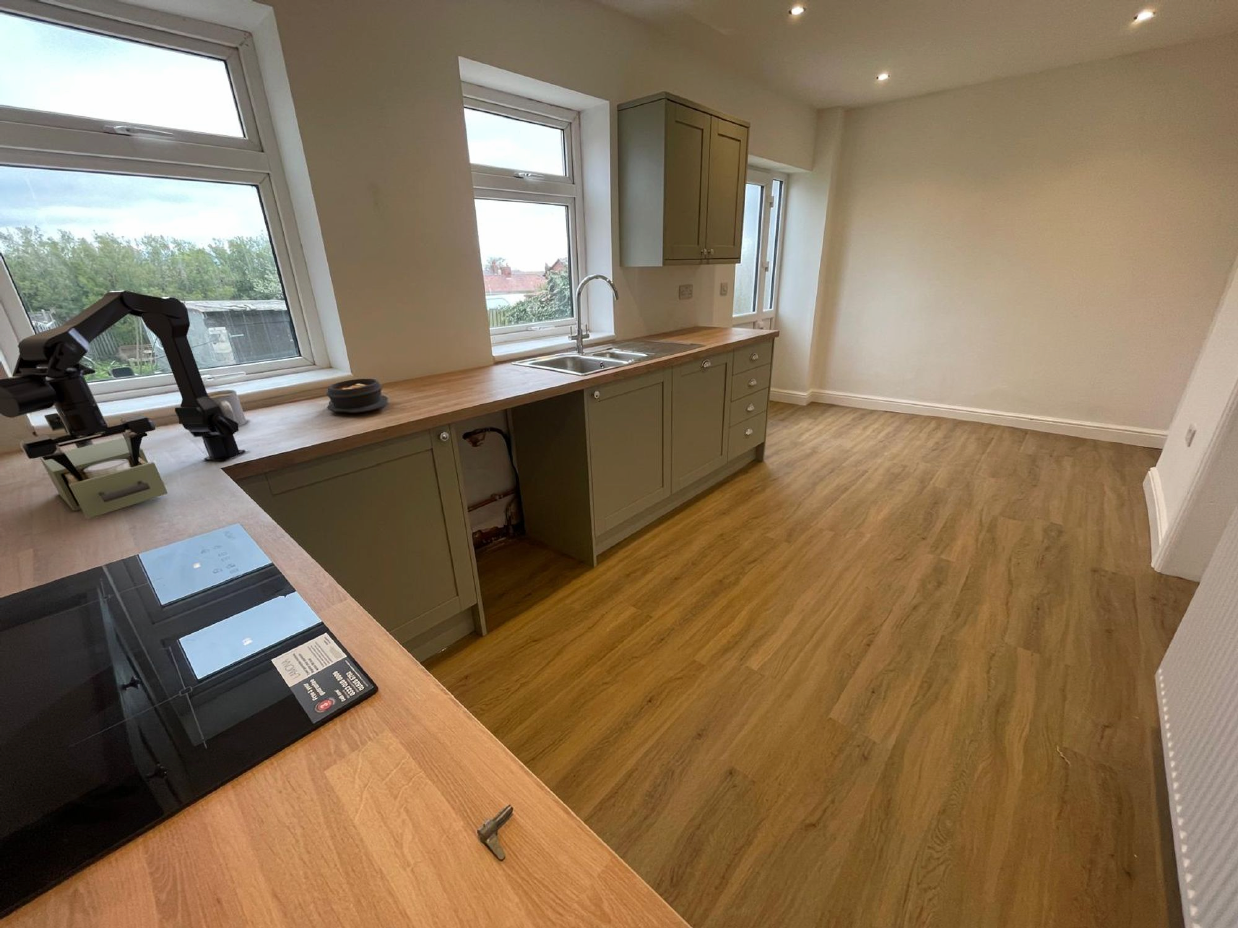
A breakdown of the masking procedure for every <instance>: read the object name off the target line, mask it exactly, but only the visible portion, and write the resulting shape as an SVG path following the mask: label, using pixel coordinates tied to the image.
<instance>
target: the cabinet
mask: <svg viewBox="0 0 1238 928" xmlns="http://www.w3.org/2000/svg"><path fill="white" fill-rule="evenodd" d="M93 444H94V445H89V446H85V447H81V448H77V447H76V448H73V449H68V450H64V451H63V452H64V453H65V454H66V456H67V457H68V458H69V460H70V461H71V462H72V464H73V465H74V466H75V468H76V469H81V468H85V467H89V466H92V465H95V464H98V463H101V462H105V461H110V460H116V459H120V458H124V457H128V456H130V453H129V450H128V447H127V444H126V441H125V439H124V437H120V438H116V439H111V440H106V441H103V442H98V443H93ZM38 458H39V460H40V462H41V463H42V466H43V467H44V469H45V470H46V472H47V475H48V476H49V478H50V480H51V482H52V484H53V485H54V487H55V489H56V491H57V493H58V494H59V496H60V497H61V498H62V499H63V500H64V502H65V503H66V504H67V505H68V506H69V507H70V509H72V511H73V512H76V511H81V510H82V509H81V507H80V505H79V503H78V501H77V500H76V499H75V497H74V495H73V493H72V491H71V489H70V487H69V486H68V484H67V482H66V480H65V478H64V476H63V474H62V473H66V472H69V471H68V470H67V469H66V468H65V467H63V466H62V465H60V464H59V463H57V462H56V461H54V460H53V459H49V460H44V459H43V458H42V457H38ZM139 458H141V459H142V460H144V461H145V462H147V463H149V461H148V459H147V457H146V455H145V452H144V450H143V448H141V447H140V449H139Z"/></svg>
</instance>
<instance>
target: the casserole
mask: <svg viewBox="0 0 1238 928" xmlns="http://www.w3.org/2000/svg"><path fill="white" fill-rule="evenodd" d="M382 389H383V385H382V384H381V383H380V382H379V381H378V380H377V379H375V378H357V379H348V380H343V381H340V382H336V383H334V384H331V385H329V386H328V387H327V392H326V394H325V395H326V396H327V397H328V398H329V399H330V400H329V401H328V404H327V407H326V409H327V410H328V411H331V412H336V413H339V412H340V413H343V414H344V413H345V414H358V413H364V412H368V411H369V412H371V411H374V410H378V409H382V408H384V407H387V406H388V405H389V402H388V401H389V398H388V396H386V395H383V394H382Z"/></svg>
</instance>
